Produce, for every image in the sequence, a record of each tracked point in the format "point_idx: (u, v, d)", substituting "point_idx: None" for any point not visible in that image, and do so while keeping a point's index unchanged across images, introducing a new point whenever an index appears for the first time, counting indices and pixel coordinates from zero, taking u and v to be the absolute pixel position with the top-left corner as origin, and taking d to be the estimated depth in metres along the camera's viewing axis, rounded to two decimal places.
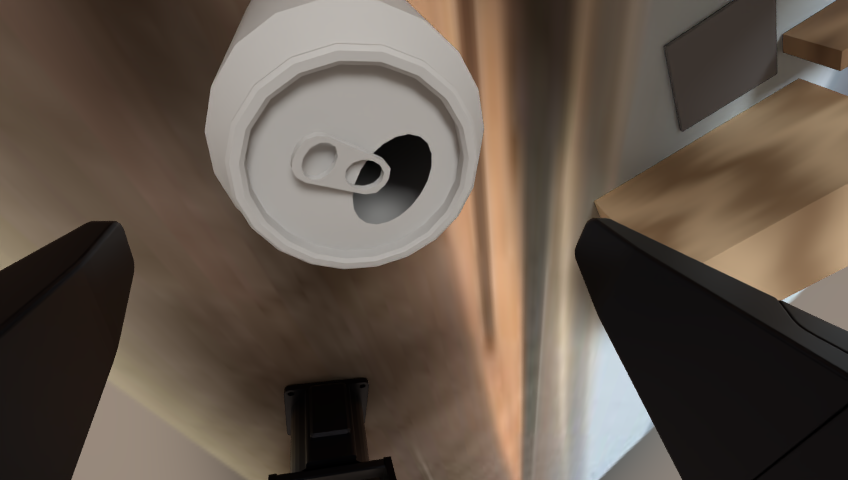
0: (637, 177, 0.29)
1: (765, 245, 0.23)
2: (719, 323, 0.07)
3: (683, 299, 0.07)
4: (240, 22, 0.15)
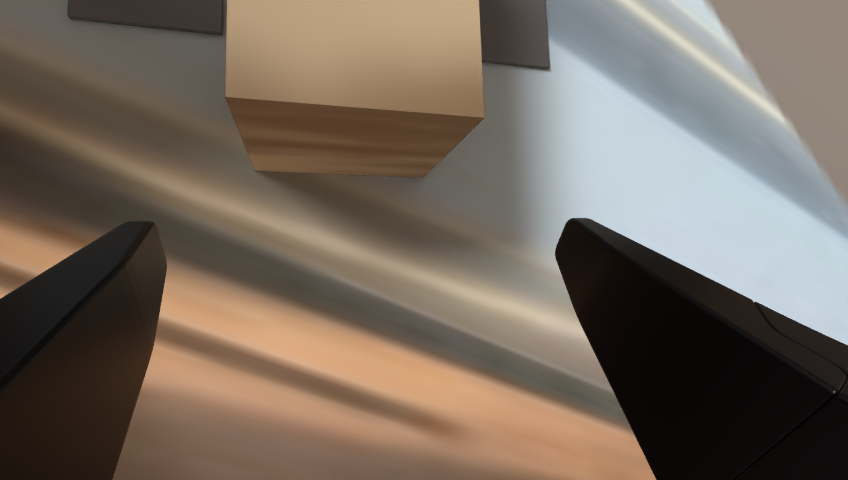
0: None
1: None
2: (693, 325, 0.07)
3: (658, 301, 0.07)
4: None
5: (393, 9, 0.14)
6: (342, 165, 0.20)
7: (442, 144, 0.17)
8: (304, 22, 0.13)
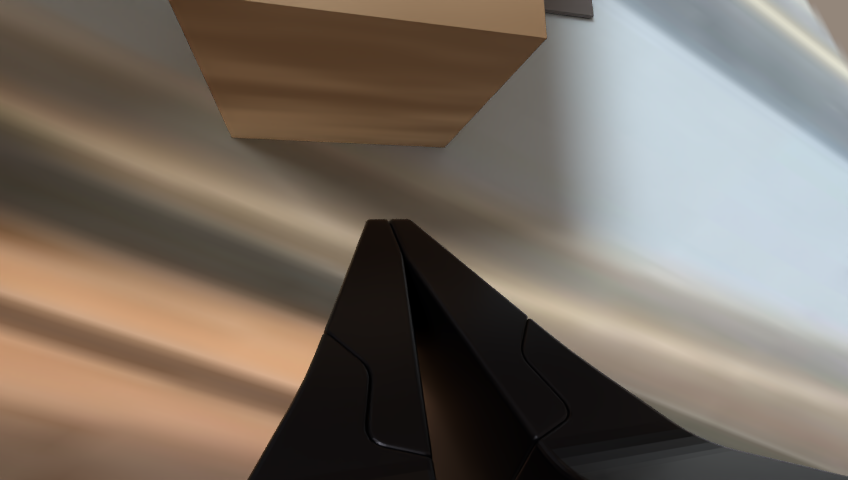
0: None
1: None
2: (458, 346, 0.06)
3: (431, 316, 0.06)
4: None
5: None
6: (344, 128, 0.15)
7: (478, 90, 0.13)
8: None
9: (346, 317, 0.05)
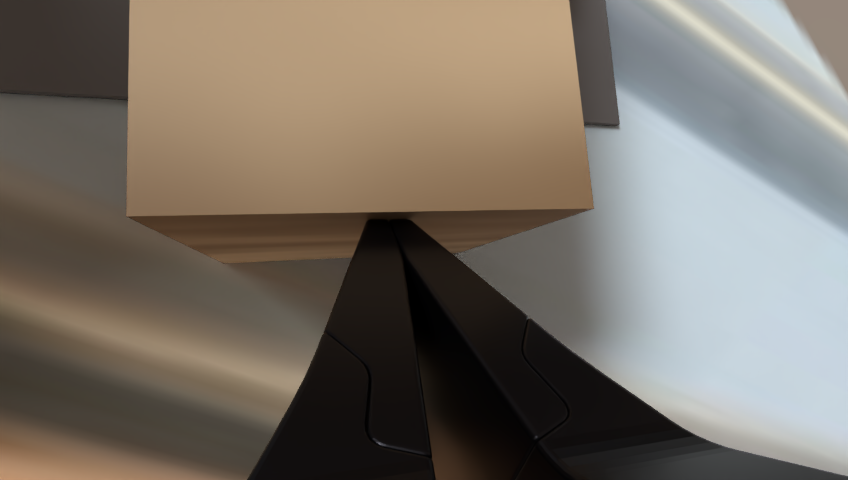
0: None
1: None
2: (458, 346, 0.06)
3: (431, 316, 0.06)
4: None
5: (433, 30, 0.08)
6: (349, 252, 0.14)
7: (504, 231, 0.11)
8: (277, 62, 0.07)
9: (346, 317, 0.05)
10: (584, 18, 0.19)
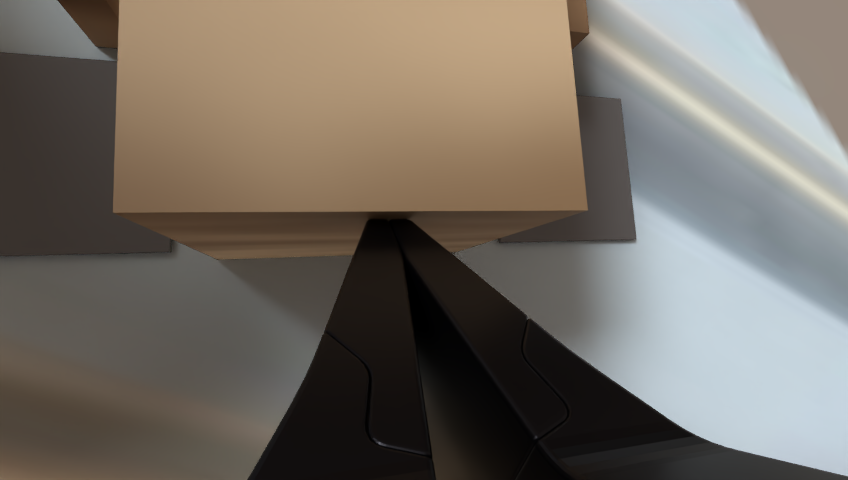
0: None
1: None
2: (457, 346, 0.06)
3: (431, 316, 0.06)
4: None
5: (427, 28, 0.08)
6: (344, 251, 0.14)
7: (499, 232, 0.11)
8: (269, 59, 0.07)
9: (346, 317, 0.05)
10: (599, 126, 0.18)
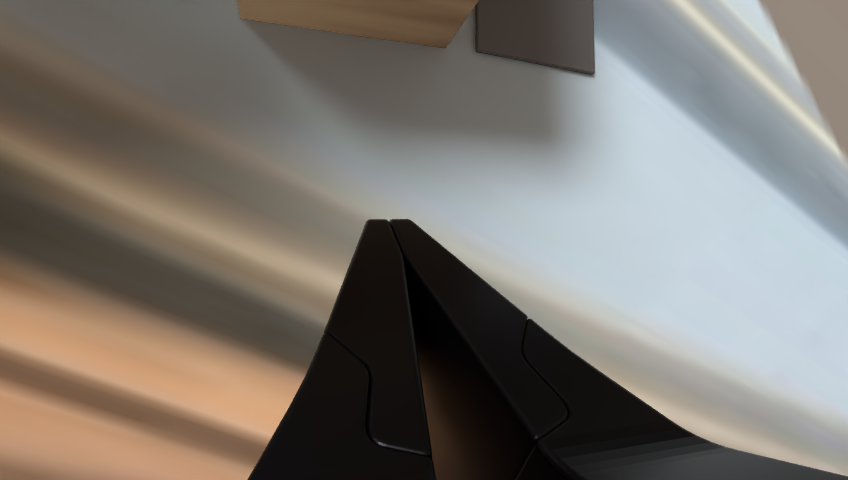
0: None
1: None
2: (458, 347, 0.06)
3: (431, 316, 0.06)
4: None
5: None
6: (352, 12, 0.16)
7: None
8: None
9: (346, 317, 0.05)
10: None
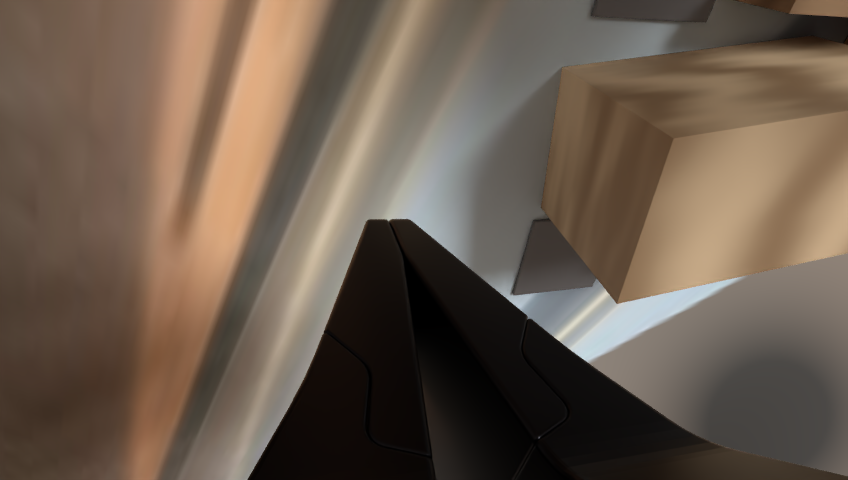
0: (623, 60, 0.21)
1: (785, 155, 0.16)
2: (458, 346, 0.06)
3: (431, 316, 0.06)
4: None
5: (709, 237, 0.18)
6: (563, 155, 0.22)
7: (586, 254, 0.21)
8: (716, 182, 0.16)
9: (346, 317, 0.05)
10: (581, 275, 0.30)
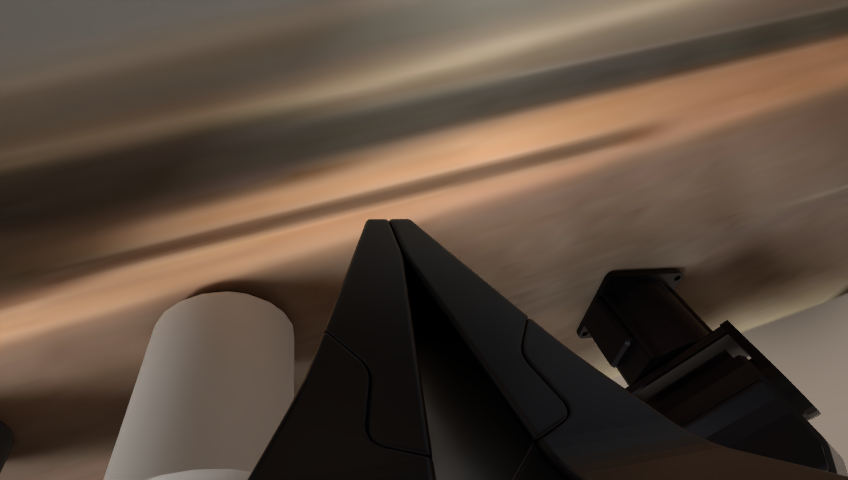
0: None
1: None
2: (458, 346, 0.06)
3: (431, 316, 0.06)
4: None
5: None
6: None
7: None
8: None
9: (346, 317, 0.05)
10: None
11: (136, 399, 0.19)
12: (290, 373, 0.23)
